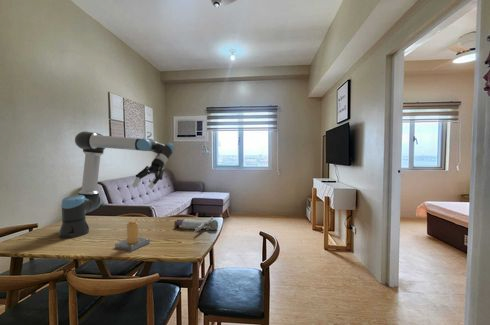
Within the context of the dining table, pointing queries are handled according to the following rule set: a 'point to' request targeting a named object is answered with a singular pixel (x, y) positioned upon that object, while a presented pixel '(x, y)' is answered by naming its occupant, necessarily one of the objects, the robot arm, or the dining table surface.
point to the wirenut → (132, 232)
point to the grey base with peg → (132, 244)
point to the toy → (197, 224)
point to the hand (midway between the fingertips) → (141, 187)
